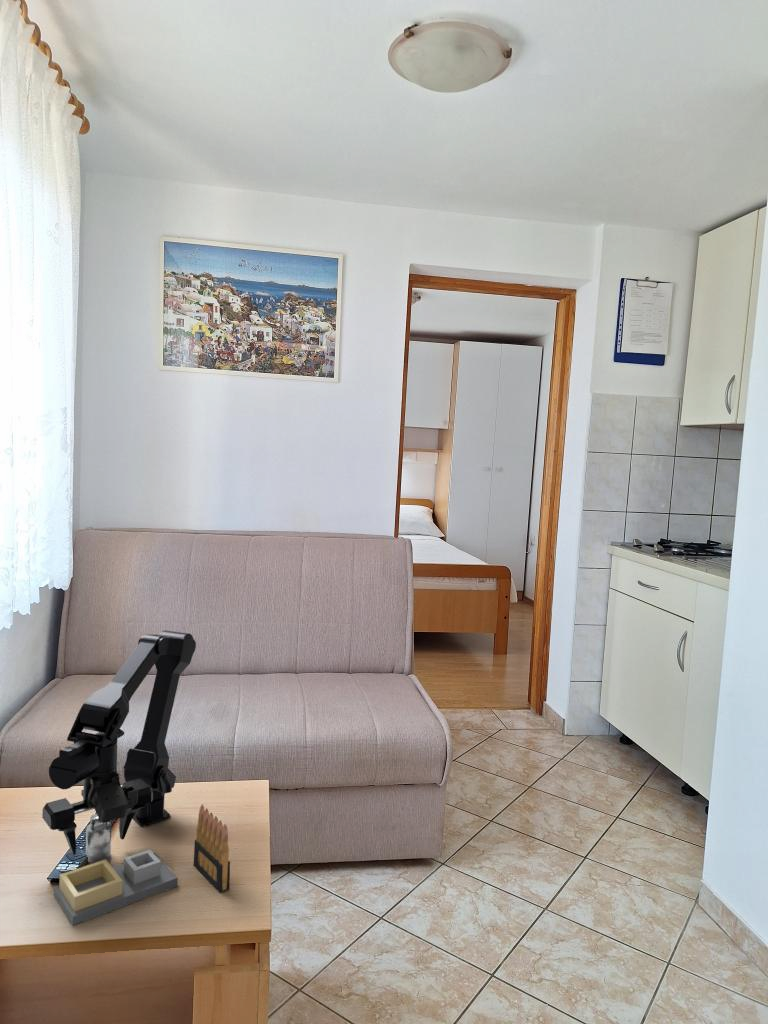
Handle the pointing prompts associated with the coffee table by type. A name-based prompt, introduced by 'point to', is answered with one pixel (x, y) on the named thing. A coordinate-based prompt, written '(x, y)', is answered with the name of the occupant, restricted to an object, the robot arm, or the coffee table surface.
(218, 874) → the ammunition clip
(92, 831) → the steel fitting
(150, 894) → the board
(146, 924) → the coffee table surface
